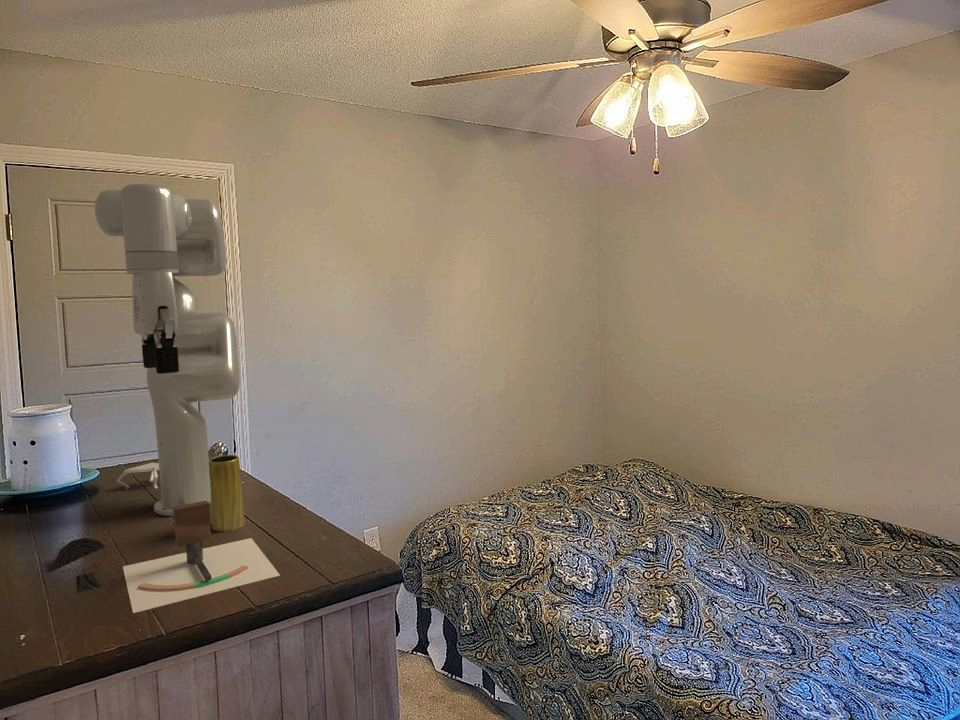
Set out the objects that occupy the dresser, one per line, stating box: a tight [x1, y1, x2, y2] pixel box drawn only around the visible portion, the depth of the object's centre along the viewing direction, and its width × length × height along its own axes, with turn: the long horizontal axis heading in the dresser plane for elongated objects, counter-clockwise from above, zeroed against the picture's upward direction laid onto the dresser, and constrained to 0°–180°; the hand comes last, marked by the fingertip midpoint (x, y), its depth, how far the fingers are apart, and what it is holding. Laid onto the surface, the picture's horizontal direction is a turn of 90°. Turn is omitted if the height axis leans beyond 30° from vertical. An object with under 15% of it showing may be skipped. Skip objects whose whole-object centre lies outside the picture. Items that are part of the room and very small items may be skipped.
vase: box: [209, 454, 245, 532], centre depth 120 cm, size 6×6×14 cm
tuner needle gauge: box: [173, 501, 212, 581], centre depth 101 cm, size 11×5×9 cm, turn 34°
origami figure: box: [116, 462, 159, 490], centre depth 151 cm, size 12×8×5 cm
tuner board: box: [122, 537, 281, 614], centre depth 102 cm, size 18×20×2 cm
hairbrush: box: [53, 533, 107, 594], centre depth 103 cm, size 8×4×25 cm
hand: (160, 370), depth 106 cm, fingers open, 9 cm apart
